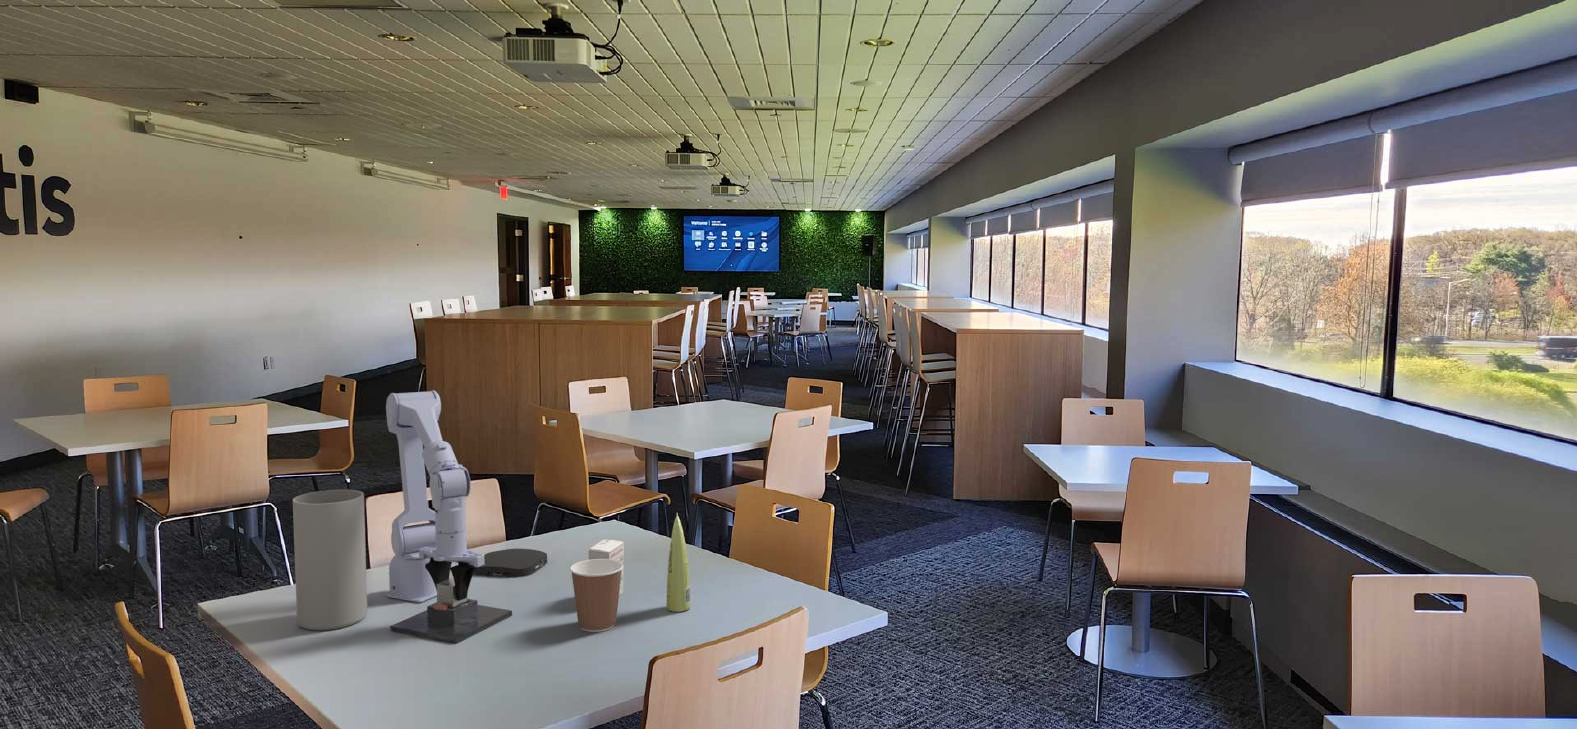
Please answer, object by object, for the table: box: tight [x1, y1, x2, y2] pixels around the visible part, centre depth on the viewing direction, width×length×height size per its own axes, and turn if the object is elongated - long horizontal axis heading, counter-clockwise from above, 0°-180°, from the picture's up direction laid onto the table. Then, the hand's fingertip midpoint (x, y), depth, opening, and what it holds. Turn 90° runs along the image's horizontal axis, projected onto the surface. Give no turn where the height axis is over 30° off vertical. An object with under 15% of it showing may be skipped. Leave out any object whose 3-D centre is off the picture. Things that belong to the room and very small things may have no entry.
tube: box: [666, 512, 691, 613], centre depth 188 cm, size 6×5×20 cm
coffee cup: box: [569, 559, 624, 633], centre depth 178 cm, size 10×10×12 cm
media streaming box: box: [474, 548, 548, 578], centre depth 215 cm, size 15×15×3 cm
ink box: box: [588, 539, 625, 597], centre depth 193 cm, size 9×5×12 cm, turn 168°
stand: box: [390, 598, 513, 644], centre depth 179 cm, size 16×16×5 cm
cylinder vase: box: [292, 489, 368, 631], centre depth 179 cm, size 12×12×25 cm
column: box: [436, 577, 469, 609], centre depth 178 cm, size 4×4×7 cm
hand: (452, 597), depth 178 cm, fingers closed on column, 4 cm apart
